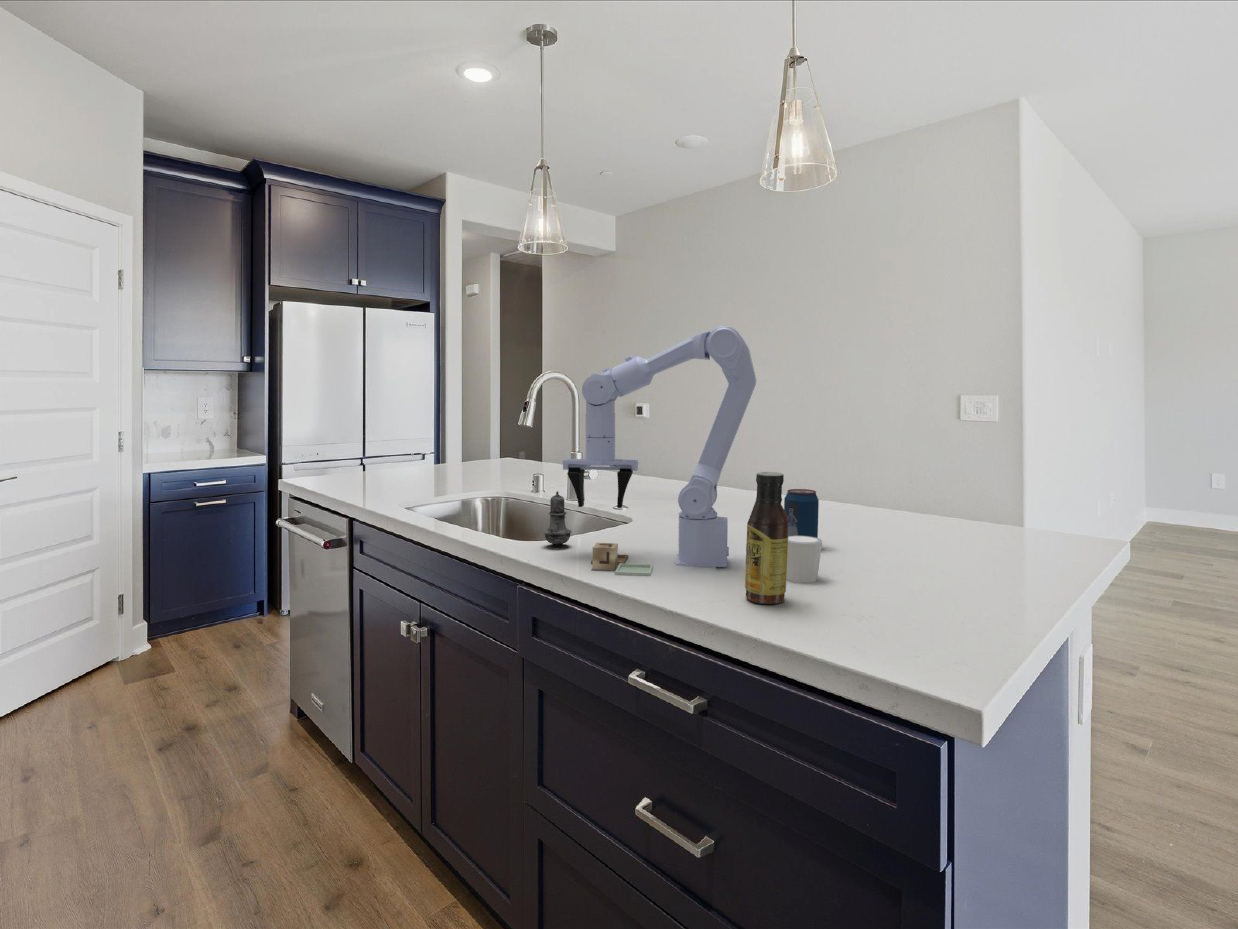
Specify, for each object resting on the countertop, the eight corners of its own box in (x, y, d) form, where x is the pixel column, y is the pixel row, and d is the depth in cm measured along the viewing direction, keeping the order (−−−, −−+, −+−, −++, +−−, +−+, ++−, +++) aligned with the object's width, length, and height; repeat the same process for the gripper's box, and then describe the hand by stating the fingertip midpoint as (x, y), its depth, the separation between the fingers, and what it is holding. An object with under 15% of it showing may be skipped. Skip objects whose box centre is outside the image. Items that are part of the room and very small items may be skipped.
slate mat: (618, 566, 126) (618, 564, 126) (615, 572, 122) (615, 570, 122) (595, 566, 127) (595, 563, 127) (591, 572, 122) (591, 569, 122)
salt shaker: (567, 552, 138) (567, 493, 137) (539, 550, 139) (539, 492, 138) (575, 546, 144) (574, 489, 143) (548, 544, 145) (547, 488, 144)
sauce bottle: (740, 594, 108) (742, 470, 106) (778, 593, 109) (781, 470, 107) (751, 607, 102) (754, 475, 100) (792, 606, 102) (795, 475, 100)
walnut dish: (628, 558, 132) (628, 554, 132) (623, 566, 126) (623, 562, 126) (596, 557, 133) (596, 553, 133) (590, 565, 127) (590, 561, 127)
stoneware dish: (653, 568, 125) (653, 564, 124) (650, 577, 118) (650, 573, 118) (619, 567, 125) (619, 563, 125) (614, 576, 119) (614, 571, 119)
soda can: (817, 545, 145) (819, 489, 144) (817, 552, 138) (819, 493, 137) (783, 543, 147) (785, 488, 146) (782, 550, 140) (783, 492, 139)
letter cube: (617, 564, 126) (617, 543, 125) (614, 570, 122) (614, 548, 122) (596, 564, 126) (596, 542, 126) (592, 569, 122) (592, 547, 122)
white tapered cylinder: (799, 585, 114) (800, 544, 113) (771, 576, 120) (772, 537, 119) (829, 580, 117) (831, 540, 116) (801, 571, 123) (802, 533, 122)
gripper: (559, 438, 129) (559, 509, 130) (635, 438, 127) (635, 510, 128) (567, 435, 136) (567, 503, 137) (639, 436, 134) (639, 505, 135)
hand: (600, 506), depth 133 cm, fingers open, 7 cm apart
